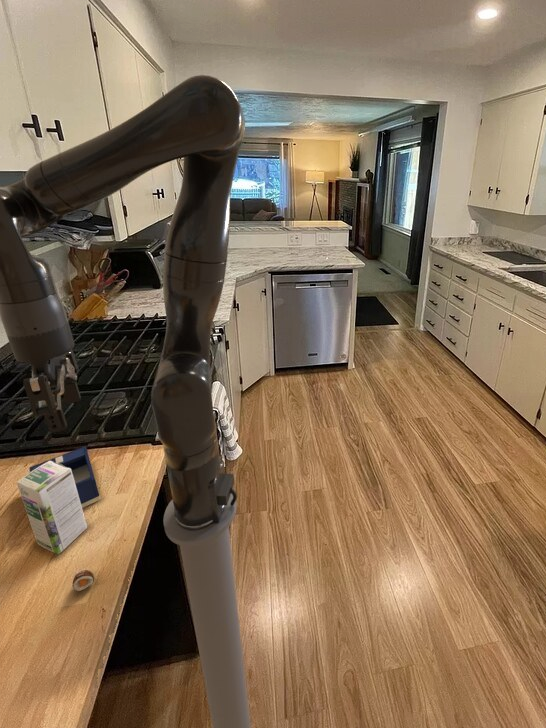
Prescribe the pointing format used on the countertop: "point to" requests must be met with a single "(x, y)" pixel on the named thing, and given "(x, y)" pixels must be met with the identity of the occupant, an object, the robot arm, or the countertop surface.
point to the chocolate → (82, 579)
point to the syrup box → (52, 506)
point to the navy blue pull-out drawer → (79, 474)
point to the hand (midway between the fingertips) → (67, 415)
